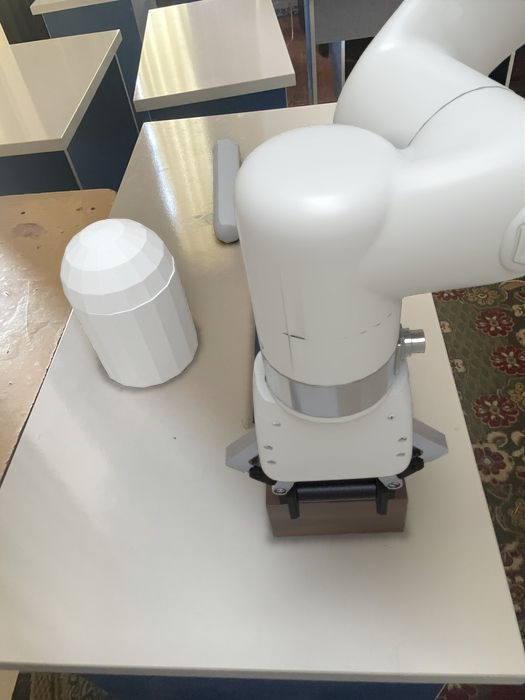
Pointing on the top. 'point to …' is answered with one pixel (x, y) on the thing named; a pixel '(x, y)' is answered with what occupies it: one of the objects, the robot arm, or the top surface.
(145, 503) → the top surface
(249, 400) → the top surface
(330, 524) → the stand
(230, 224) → the tube
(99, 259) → the container
